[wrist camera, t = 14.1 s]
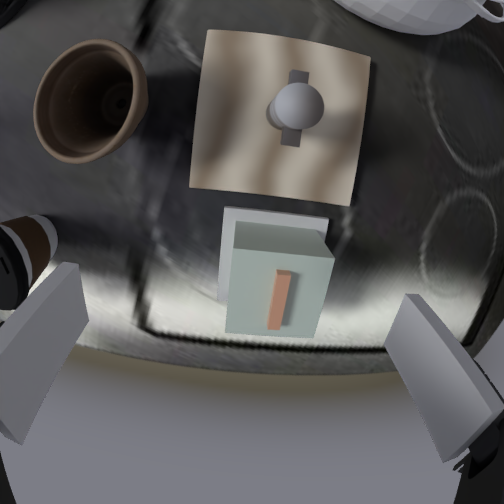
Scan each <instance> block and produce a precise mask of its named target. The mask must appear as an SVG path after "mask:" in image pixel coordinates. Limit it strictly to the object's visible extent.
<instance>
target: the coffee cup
mask: <svg viewBox="0 0 504 504" xmlns="http://www.w3.org/2000/svg"><path fill="white" fill-rule="evenodd" d="M57 245H58V236H57V232H56V229H55V227H54V226H53V224H52V222H51V221H49V220H48V219H47V218H46V217H43V216H40V215H32V216H24V217H20V218H16V219H12V220H9V221H5V222H2V223H0V309H1V310H16V309H17V308H18V307H19V306H20V305H21V304H22V303H23V301H24V300H25V299H26V298H27V296H28V293H29V290H30V289H31V287H32V286H33V284H34V283H35V282H36V280H37V279H38V278H39V276H40V275H41V273H42V272H43V271H44V269H45V268H46V267H47V265H48V263H49V261H50V260H51V258H52V257H53V256H54V254H55V251H56V249H57Z"/></svg>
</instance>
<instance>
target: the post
mask: <svg viewBox="0 0 504 504" xmlns="http://www.w3.org/2000/svg"><path fill="white" fill-rule="evenodd" d="M370 60H371V57H368V56H365V55H362V54H358V53H355V52H351V51H348V50H344V49H340V48H336V47H332V46H328V45H324V44H320V43H315V42H310V41H305V40H300V39H294V38H289V37H282V36H276V35H268V34H260V33H251V32H241V31H227V30H208V32H207V38H206V44H205V50H204V57H203V64H202V71H201V78H200V85H199V93H198V101H197V110H196V118H195V128H194V138H193V148H192V160H191V172H190V186H189V187H190V188H203V189H214V190H225V191H235V192H244V193H254V194H263V195H271V196H279V197H287V198H295V199H303V200H310V201H317V202H324V203H331V204H337V205H344V206H350V201H351V196H352V191H353V185H354V180H355V174H356V169H357V163H358V157H359V151H360V144H361V138H362V131H363V124H364V116H365V109H366V100H367V91H368V82H369V71H370Z"/></svg>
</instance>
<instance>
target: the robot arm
mask: <svg viewBox="0 0 504 504" xmlns="http://www.w3.org/2000/svg"><path fill="white" fill-rule="evenodd" d="M26 1H27V0H0V27H2V26H3V25H4V24H6V23H7V22H8V21H9V20H10V19H11V18H12V17H13V16H14V15H15V14H16V13H17V12H18V11H19V10H20V8H21V7H22V6H23V5H24V3H25V2H26ZM88 322H89V319H88V314H87V309H86V304H85V299H84V294H83V288H82V282H81V276H80V270H79V264H77V263H70V262H62V263H61V264H60V265H59V266H58V267H57V268H56V269H55V270H54V271H53V272H52V273H51V274H50V275H49V276H48V277H47V278H46V279H45V280H44V281H43V282H42V283H41V284H40V285H39V286H38V287H37V288H36V289H35V290H34V291H33V292H32V293H31V294H30V295H29V296H28V297H27V298H26V299H25V300H24V301H23V303H22V304H21V305H20V306H19V307H18V308H17V309H16V310H15V311H14V312H13V314H12V315H11V316H10V317H9V318H8V319H7V320H6V322H4V321H2V322H1V323H0V432H1V433H2V434H3V435H4V436H5V437H7V438H8V439H10V440H12V441H14V442H16V443H18V444H20V445H22V444H23V442H24V440H25V438H26V436H27V433H28V431H29V429H30V427H31V425H32V423H33V420H34V418H35V416H36V414H37V412H38V410H39V408H40V406H41V404H42V402H43V400H44V398H45V396H46V394H47V393H48V391H49V389H50V387H51V385H52V383H53V381H54V379H55V377H56V375H57V374H58V372H59V370H60V368H61V367H62V365H63V363H64V361H65V360H66V358H67V356H68V355H69V353H70V351H71V349H72V348H73V346H74V344H75V343H76V341H77V339H78V338H79V336H80V335H81V333H82V331H83V330H84V328H85V326H86V325H87V323H88ZM384 346H385V348H386V350H387V351H388V353H389V355H390V357H391V359H392V360H393V362H394V364H395V366H396V368H397V370H398V372H399V373H400V375H401V377H402V379H403V381H404V383H405V385H406V387H407V388H408V391H409V393H410V395H411V397H412V399H413V400H414V402H415V404H416V406H417V408H418V411H419V413H420V414H421V417H422V419H423V421H424V423H425V424H426V427H427V429H428V431H429V433H430V435H431V438H432V440H433V442H434V444H435V446H436V449H437V451H438V453H439V455H440V457H441V460H442V462H443V463H444V462H446V461H449V460H451V459H454V458H456V457H458V456H459V455H460V454H461V453H462V452H463V451H465V450H466V448H469V450H470V453H469V454H467V455H466V456H465V457H464V458H463V459H462V460H461V461H460V462H458V463H457V464H456V465H455V466H454V468H453V470H454V471H455V470H456V469H458V468H459V467H460V466H461V465H462V464H464V466H463V467H462V468H460V470H459V471H458V472H460V473H462V475H461V479H460V482H459V486H458V490H457V494H456V497H455V500H454V504H504V399H503V398H502V396H501V395H500V394H499V392H498V390H497V389H496V388H495V386H494V385H493V383H492V382H490V379H489V378H488V376H487V375H486V374H484V371H483V369H482V368H481V367H480V365H479V364H478V363H477V362H476V361H475V360H474V359H472V358H471V357H470V356H469V355H468V353H467V352H466V351H465V349H464V348H463V347H462V345H461V344H460V343H459V342H458V340H457V339H456V338H455V337H454V335H453V334H452V333H451V332H450V330H449V329H448V328H447V327H446V325H445V324H444V323H443V322H442V321H441V319H440V318H439V317H438V316H437V315H436V313H435V312H434V311H433V310H432V309H431V308H430V306H429V305H428V304H427V303H426V302H425V301H424V299H423V298H422V297H421V296H420V295H419V294H405V296H404V298H403V301H402V303H401V306H400V308H399V311H398V313H397V315H396V318H395V320H394V322H393V325H392V327H391V329H390V331H389V334H388V336H387V338H386V340H385V342H384ZM0 504H16V501H15V499H14V496H13V493H12V490H11V487H10V485H9V481H8V478H7V475H6V471H5V468H4V464H3V461H2V457H1V453H0Z"/></svg>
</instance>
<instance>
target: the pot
mask: <svg viewBox="0 0 504 504" xmlns="http://www.w3.org/2000/svg"><path fill="white" fill-rule="evenodd" d="M334 1H335V2H337V3H338V4H340V5H341V6H342V7H344V8H345V9H347V10H348V11H350V12H352V13H354V14H356V15H357V16H359V17H361V18H363V19H364V20H367V21H369V22H372V23H374V24H376V25H379V26H381V27H384V28H387V29H391V30H394V31H397V32H403V33H410V34H418V35H438V34H441V33H445V32H448V31H451V30H455V29H458V28H460V27H461V26H463V25H464V24H465V23H467V22H468V21H470V20H471V19H472V18H474V17H475V16H476V14H478V15H480V16H481V17H482V18H483V17H484V18H485V19H487V20H488V21H491V22H496V23H498V22H503V21H504V0H491V1H495V2H499V3H503V16H502V17H501V18H500V17H496V16H494V15H492V14H491V13H490V12H489V11H487V10H486V9H485V8H484V7H483V6H482V5H483V4H484V2H485V1H486V0H334Z"/></svg>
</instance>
